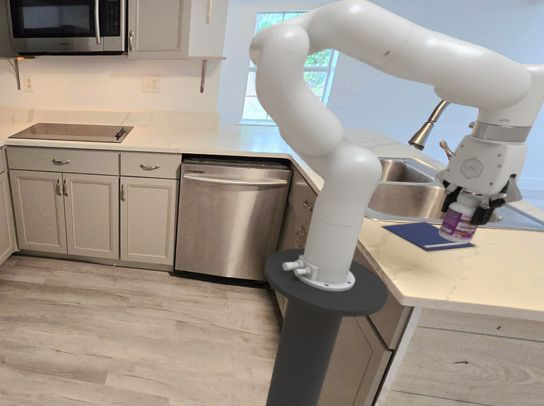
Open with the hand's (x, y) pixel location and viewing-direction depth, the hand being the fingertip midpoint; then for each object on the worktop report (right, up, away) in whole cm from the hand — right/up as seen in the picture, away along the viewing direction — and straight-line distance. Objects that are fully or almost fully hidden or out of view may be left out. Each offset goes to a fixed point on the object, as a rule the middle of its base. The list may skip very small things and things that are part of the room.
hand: (462, 217), depth 77 cm
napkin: (+14, -6, +25) cm, 29 cm away
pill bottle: (0, -5, +2) cm, 5 cm away
